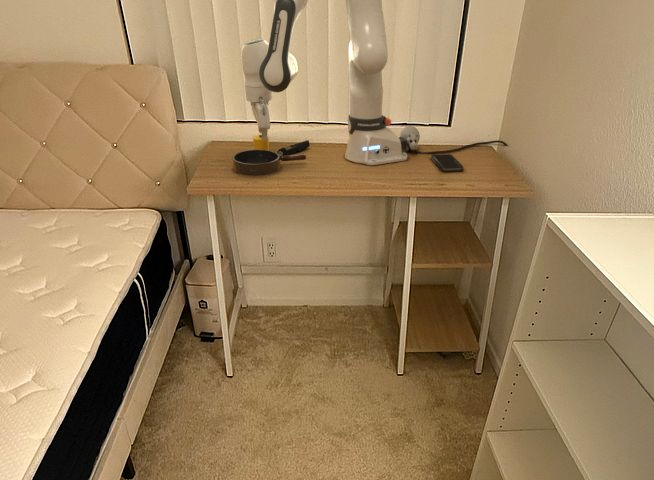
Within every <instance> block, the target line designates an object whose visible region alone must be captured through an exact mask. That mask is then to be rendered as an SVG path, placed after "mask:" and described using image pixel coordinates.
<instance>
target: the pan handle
mask: <svg viewBox="0 0 654 480" xmlns="http://www.w3.org/2000/svg"><path fill="white" fill-rule="evenodd" d="M305 160H307V155H306V154H305V153H304V154H303V153H301V154H290V155H286V156H281V157H280V162H295V161H305Z"/></svg>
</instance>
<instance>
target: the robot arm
mask: <svg viewBox="0 0 654 480" xmlns="http://www.w3.org/2000/svg"><path fill="white" fill-rule="evenodd" d="M308 2H309V0H274V5H273V6H274V7H273V18H272V24H271V29H270V37H269V42H268V41H266V40H265V39H263V38H256V39H252V40H249V41H246V43H244V44H243V46H242V49H241V61H242V64H241V65H242V71H243V74H244V90H245V100H246V101H247V102H249V103H250V106H251V111H252V114H253V118H254V119H255V121H256V123H257V128H258V132H259V133H260V134H261V135H262V140H263V141H265V140H267V139H269V137H268V138H267V136H268V130H270V129H271V120H270V119H271V118H270V111H269V105H270V101H272V100H273V93H281V92H283V91H285V90H287V88H288V87H289V86H290V84H291V83H292V81H293V80H294V79H295V78H296V76H297V75H298V73H299V62H298V59H297V58H296V56H295V55H293V54H292V53H291V52H290V48H291V43H292V37H293V31H294V27H295V24H296V22H297V20H298V18H299V17H300V15H301V13H302V12H303V11H304V9H306V6H307V5H308ZM345 7H346V16H347V21H348V28H349V29H348V30H349V37H350V40H349V43H348V74H349V75H348V76H349V114H348V119H347V132H348V139H347V144H346V149H345V153H344V158H345V159H346V160H347V161H350V162H352V163H353V162H354V163H358V164H363V165H367V166H376V165H383V164H384V165H385V164H392V163H397V162H404V161H407V160H408V153H407V151H406V152H405V151H404V150H403V149H406V146H407V145H408V144H407V141H406V140H405V139H404V138H402V137H400V136H398V135H397V134H396V133H395V132H393V130H391V129H390V128H389V127H387V126H390V125H391V124H392V119H390V117H386V116H385V115H383V100H384V99H383V98H384V96H383V95H384V87H383V70H384V69H385V66H386V65H387V63H388V56H389V53H388V42H387V41H388V40H387V34H386V24H385V17H384V10H383V0H345ZM496 143H500V144H503V145H504V146H506V147H509V146H508V143H506V142H505V141H503V140H499V139H498V140H490V141H480V142H475V143H470V144H466V145H464V146H461V147H458V148H457V147H456V148H453V149H447V150H435V151H426V152H425V151H424V152H422V151H418V150H417V151H416V150H413V151H414V152H413V153H416V154H421V155H435V154H448V153H453V152H457V151H462V150H464V149H467V148H470V147H474V146H479V145H489V144H496Z"/></svg>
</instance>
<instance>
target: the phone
mask: <svg viewBox="0 0 654 480" xmlns="http://www.w3.org/2000/svg"><path fill="white" fill-rule="evenodd" d="M430 155H431V156H430V160H431V161H432V162H433V163H434V165H435V166H436V167H437V168H438V169H439V170H440V171H441V172H442V173H456V172H457V173H458V172H459V173H460V172H464V166H463V164H461V163H460V161H459V160H458V159H456V157H455V156H454V155H453V154H449V153H442V154H430Z"/></svg>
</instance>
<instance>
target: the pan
mask: <svg viewBox="0 0 654 480" xmlns="http://www.w3.org/2000/svg"><path fill="white" fill-rule="evenodd" d="M231 158H232V166H233V171H234V172H235V173H237V174H239V175H243V176H249V177H262V176H268V175H272V174H275V173H277V172H279V171H280V170H281V160H280V156H279V154H278V153H277V152H276V151H274V150H270V149H269V150H259V149H256V150H254V149H247V150H246V149H245V150H242V151H238V152H236V153H235V154H233V156H232V157H231Z"/></svg>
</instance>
